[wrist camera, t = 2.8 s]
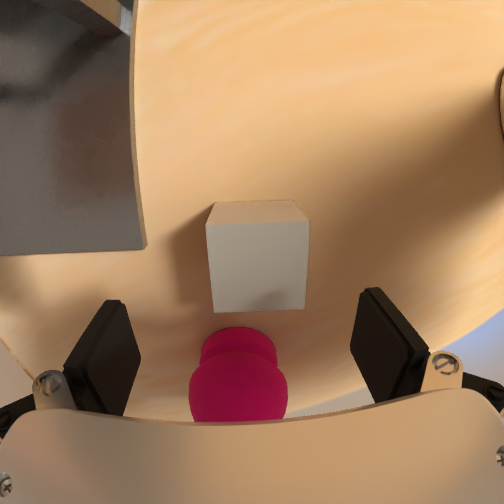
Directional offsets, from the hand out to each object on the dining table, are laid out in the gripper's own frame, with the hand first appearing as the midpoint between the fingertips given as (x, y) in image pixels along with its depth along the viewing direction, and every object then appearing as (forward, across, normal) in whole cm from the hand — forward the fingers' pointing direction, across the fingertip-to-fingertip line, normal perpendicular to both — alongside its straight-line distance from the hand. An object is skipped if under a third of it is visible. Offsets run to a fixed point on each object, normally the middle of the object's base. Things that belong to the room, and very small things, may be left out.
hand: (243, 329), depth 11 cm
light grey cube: (+9, -1, 0) cm, 9 cm away
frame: (+9, +16, -13) cm, 23 cm away
